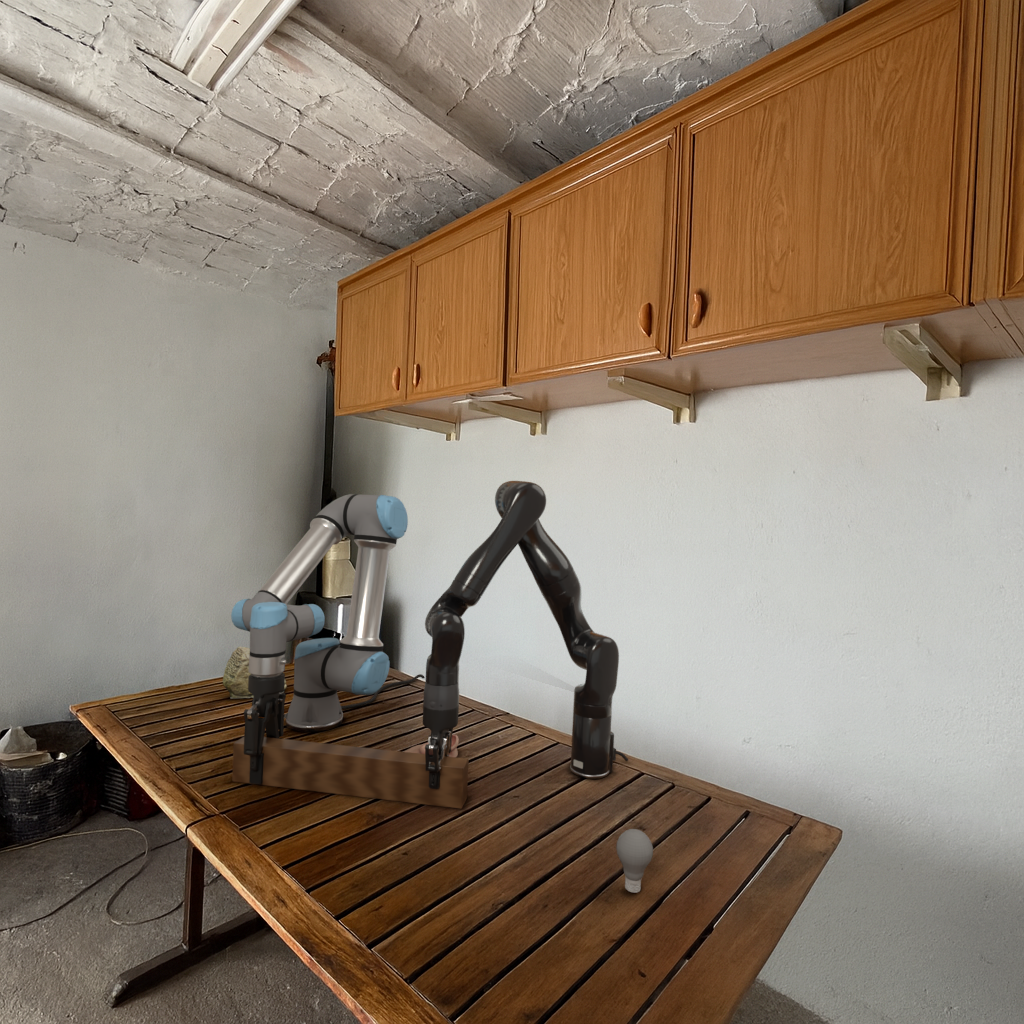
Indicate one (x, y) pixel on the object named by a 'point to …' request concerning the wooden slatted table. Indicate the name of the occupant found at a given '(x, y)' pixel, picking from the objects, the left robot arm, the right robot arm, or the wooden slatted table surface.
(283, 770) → the beam
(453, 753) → the anatomical model
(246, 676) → the fossil
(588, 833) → the wooden slatted table surface
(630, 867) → the light bulb
